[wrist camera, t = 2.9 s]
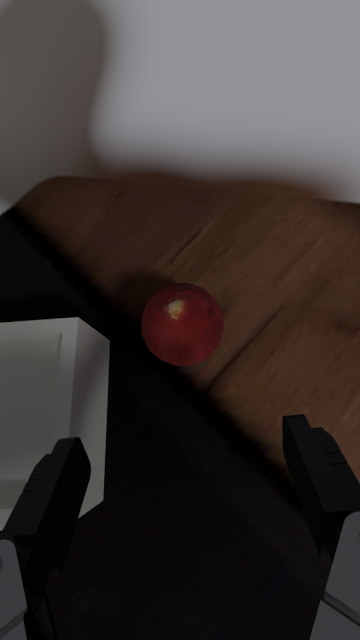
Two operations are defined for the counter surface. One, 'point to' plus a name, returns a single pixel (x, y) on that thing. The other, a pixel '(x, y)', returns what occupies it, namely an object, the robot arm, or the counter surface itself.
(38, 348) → the tray
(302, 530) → the counter surface
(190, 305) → the onion
